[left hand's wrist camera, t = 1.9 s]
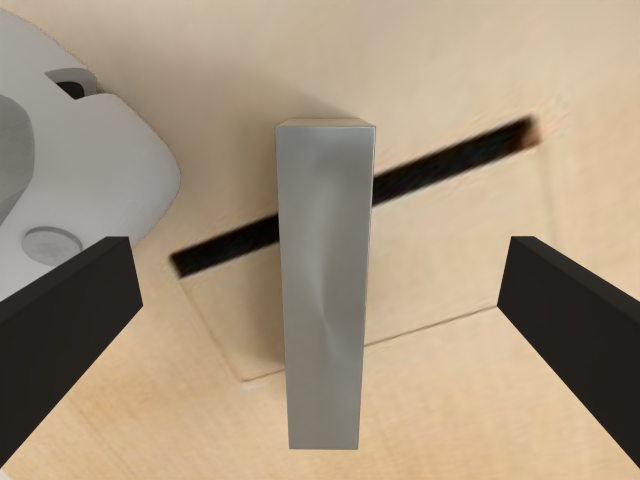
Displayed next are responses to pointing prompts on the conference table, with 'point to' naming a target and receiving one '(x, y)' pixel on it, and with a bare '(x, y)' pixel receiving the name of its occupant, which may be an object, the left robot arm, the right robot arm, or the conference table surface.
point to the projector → (69, 159)
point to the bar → (324, 273)
